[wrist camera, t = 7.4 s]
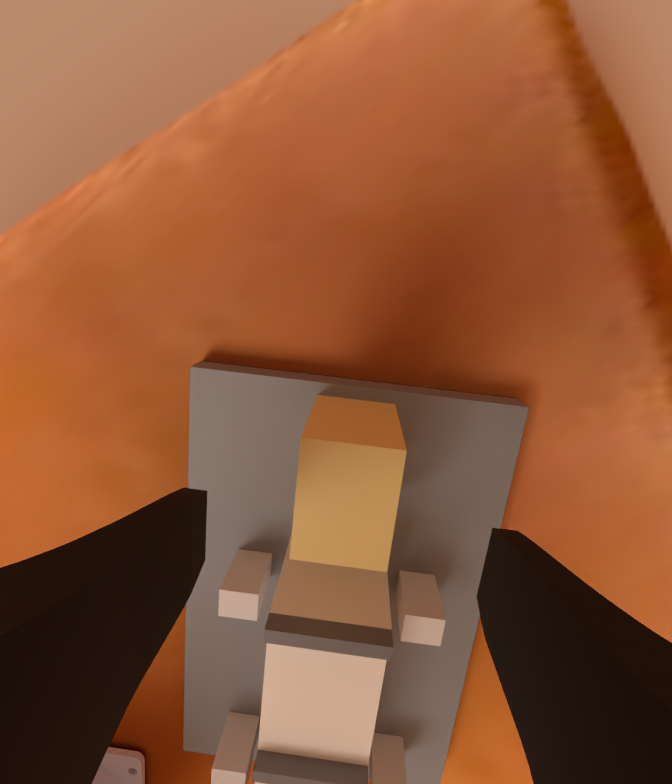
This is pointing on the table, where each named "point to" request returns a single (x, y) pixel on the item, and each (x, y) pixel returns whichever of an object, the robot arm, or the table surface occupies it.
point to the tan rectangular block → (348, 483)
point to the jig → (405, 568)
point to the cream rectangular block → (322, 673)
